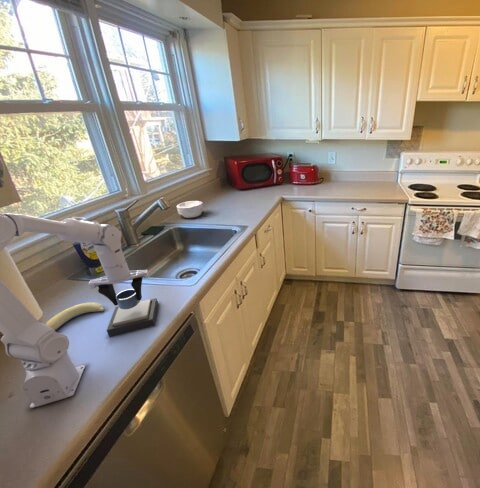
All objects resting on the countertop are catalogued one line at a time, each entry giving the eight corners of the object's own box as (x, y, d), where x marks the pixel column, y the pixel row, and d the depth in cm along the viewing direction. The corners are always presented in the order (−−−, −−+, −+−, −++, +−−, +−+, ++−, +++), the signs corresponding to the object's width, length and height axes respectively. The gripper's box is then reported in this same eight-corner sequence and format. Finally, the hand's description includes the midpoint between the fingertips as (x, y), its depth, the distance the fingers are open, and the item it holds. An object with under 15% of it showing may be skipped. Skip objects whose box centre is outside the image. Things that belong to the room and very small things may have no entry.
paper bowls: (180, 213, 183) (178, 201, 179) (205, 210, 187) (203, 199, 183) (177, 221, 170) (174, 208, 166) (204, 218, 174) (201, 206, 170)
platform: (148, 318, 87) (146, 315, 87) (113, 327, 84) (112, 323, 83) (151, 302, 95) (150, 299, 94) (120, 309, 91) (118, 306, 91)
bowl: (138, 307, 86) (135, 297, 85) (117, 312, 84) (113, 301, 83) (141, 297, 91) (137, 287, 89) (121, 301, 89) (117, 291, 87)
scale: (154, 325, 87) (152, 319, 86) (109, 337, 83) (106, 330, 82) (158, 303, 97) (156, 297, 96) (117, 312, 93) (115, 306, 92)
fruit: (40, 328, 87) (35, 320, 85) (97, 303, 98) (93, 295, 96) (47, 338, 83) (42, 329, 81) (105, 310, 94) (102, 302, 93)
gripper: (144, 252, 87) (156, 288, 93) (87, 262, 82) (104, 299, 88) (141, 262, 81) (154, 300, 87) (79, 273, 76) (98, 313, 82)
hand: (128, 301), depth 87 cm, fingers closed on bowl, 5 cm apart
